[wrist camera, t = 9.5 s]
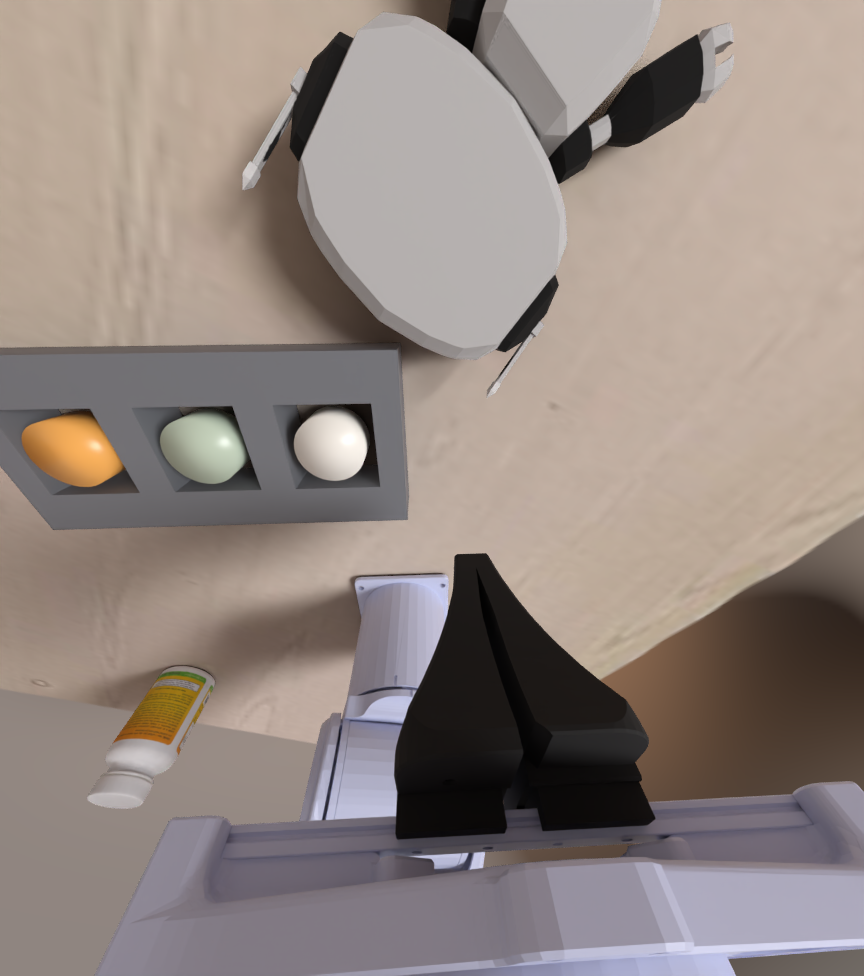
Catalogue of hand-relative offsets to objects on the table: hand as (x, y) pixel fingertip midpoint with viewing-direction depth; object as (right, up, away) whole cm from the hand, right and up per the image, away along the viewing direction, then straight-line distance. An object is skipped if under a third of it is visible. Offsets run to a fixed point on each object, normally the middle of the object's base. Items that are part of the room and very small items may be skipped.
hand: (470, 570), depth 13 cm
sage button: (-14, +6, +5) cm, 17 cm away
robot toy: (0, +18, +1) cm, 18 cm away
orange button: (-21, +6, +5) cm, 23 cm away
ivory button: (-7, +7, +5) cm, 11 cm away
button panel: (-14, +7, +6) cm, 17 cm away
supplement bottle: (-28, -17, +20) cm, 39 cm away
